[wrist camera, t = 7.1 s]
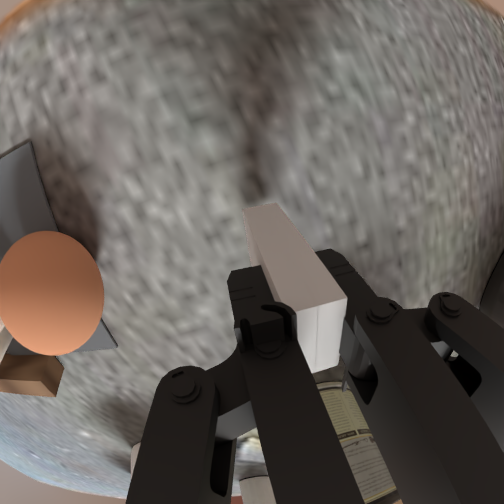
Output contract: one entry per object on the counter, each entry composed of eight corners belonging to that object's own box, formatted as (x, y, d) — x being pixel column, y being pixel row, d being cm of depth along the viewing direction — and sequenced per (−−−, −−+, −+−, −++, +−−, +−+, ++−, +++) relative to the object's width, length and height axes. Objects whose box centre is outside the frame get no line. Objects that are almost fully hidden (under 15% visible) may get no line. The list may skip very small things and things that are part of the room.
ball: (-8, 243, 10) (76, 199, 12) (39, 324, 13) (114, 288, 16) (-41, 298, 5) (71, 233, 8) (37, 395, 9) (134, 351, 11)
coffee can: (329, 422, 29) (364, 512, 17) (250, 432, 26) (277, 540, 14) (369, 374, 24) (426, 484, 12) (276, 384, 22) (323, 533, 10)
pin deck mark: (31, 141, 9) (29, 142, 9) (117, 345, 17) (117, 347, 16) (-66, 209, 8) (-67, 210, 8) (11, 353, 16) (11, 355, 15)
